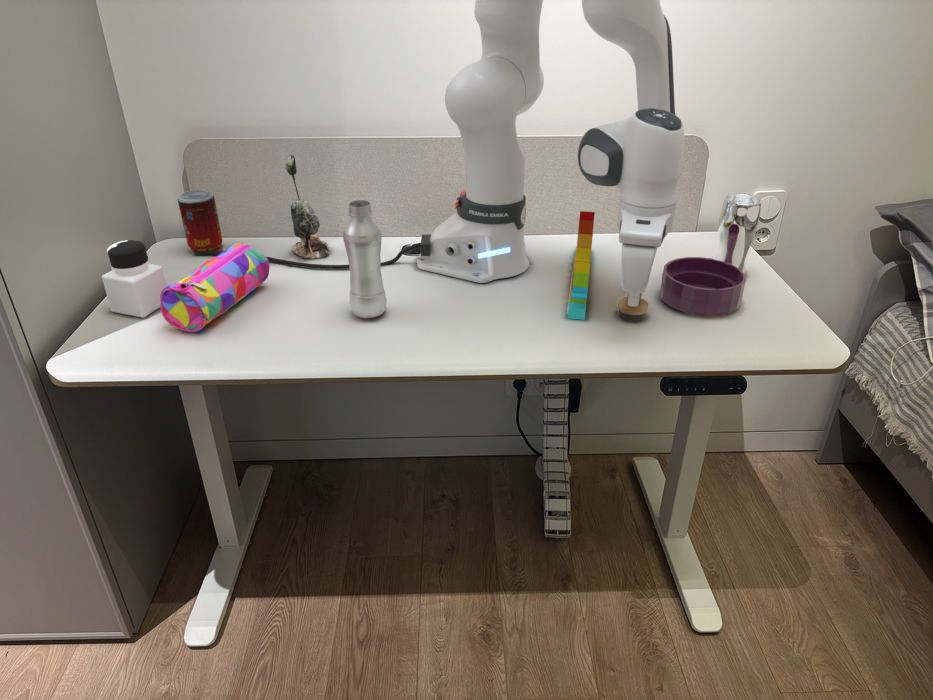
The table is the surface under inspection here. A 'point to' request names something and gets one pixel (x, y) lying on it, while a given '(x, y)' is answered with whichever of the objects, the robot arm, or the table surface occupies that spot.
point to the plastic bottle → (364, 261)
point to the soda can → (200, 220)
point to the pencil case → (213, 287)
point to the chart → (581, 267)
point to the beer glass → (737, 228)
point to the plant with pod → (305, 223)
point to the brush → (632, 310)
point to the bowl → (702, 286)
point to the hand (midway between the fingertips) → (635, 294)
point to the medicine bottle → (133, 280)
